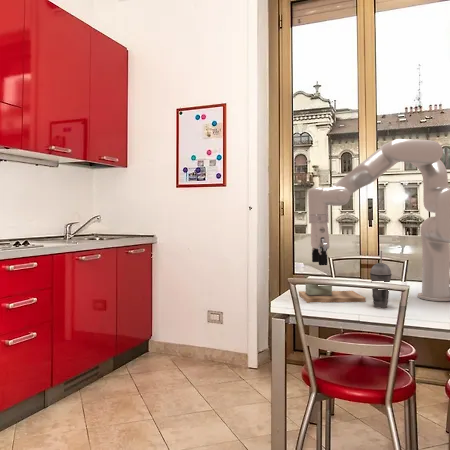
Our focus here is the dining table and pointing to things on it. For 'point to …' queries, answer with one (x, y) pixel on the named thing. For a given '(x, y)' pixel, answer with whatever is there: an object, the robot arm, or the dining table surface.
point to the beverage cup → (380, 274)
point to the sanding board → (334, 297)
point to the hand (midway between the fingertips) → (319, 263)
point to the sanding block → (318, 290)
